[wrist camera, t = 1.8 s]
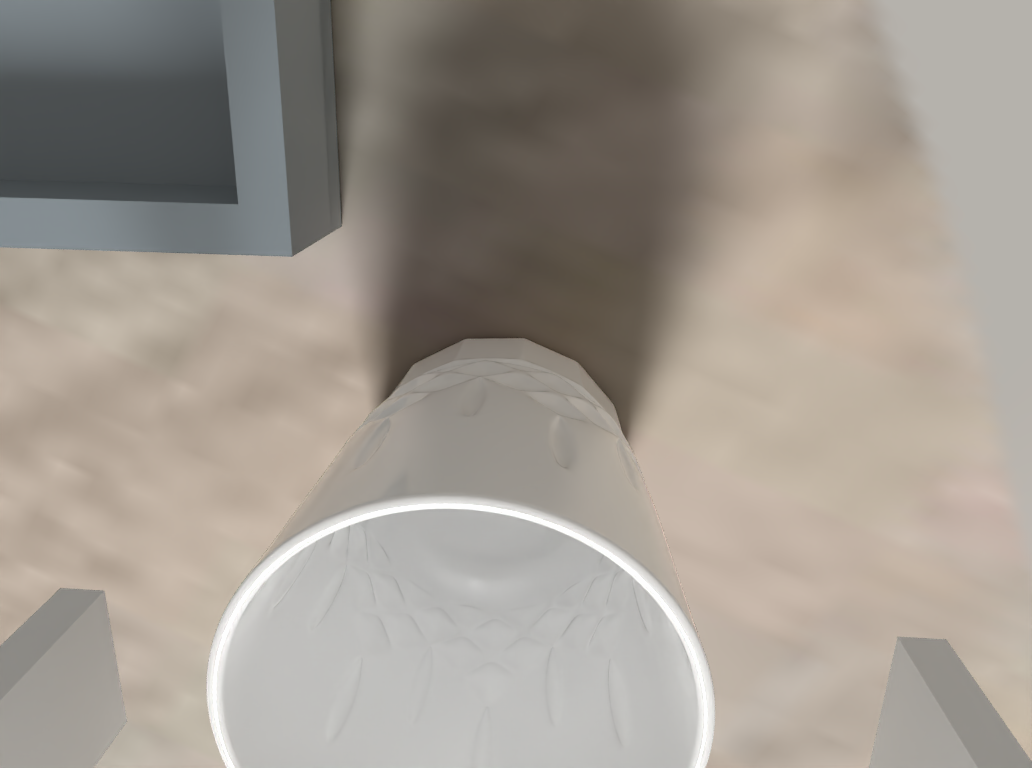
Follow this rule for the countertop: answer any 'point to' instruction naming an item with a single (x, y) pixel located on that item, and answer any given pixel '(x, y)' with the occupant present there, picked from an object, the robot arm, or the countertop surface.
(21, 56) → the bin
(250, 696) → the white cup
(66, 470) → the countertop surface
